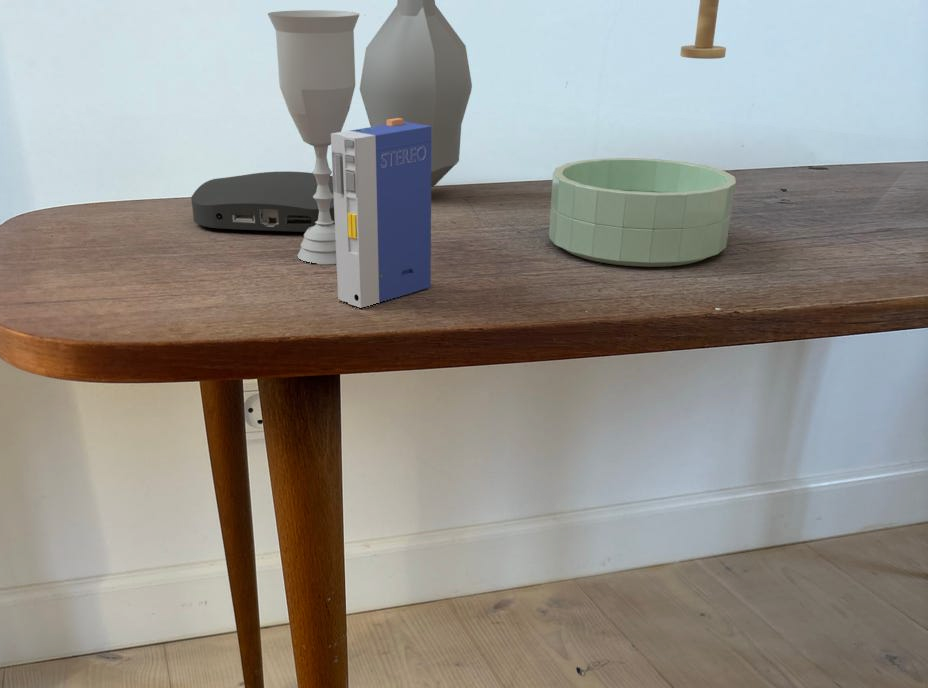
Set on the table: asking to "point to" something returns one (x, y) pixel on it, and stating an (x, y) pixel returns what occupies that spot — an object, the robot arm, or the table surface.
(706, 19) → the stirring stick
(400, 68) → the grey faceted vase
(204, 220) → the media streaming box
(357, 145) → the walkman
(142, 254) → the table surface
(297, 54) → the chalice
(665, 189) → the bowl
